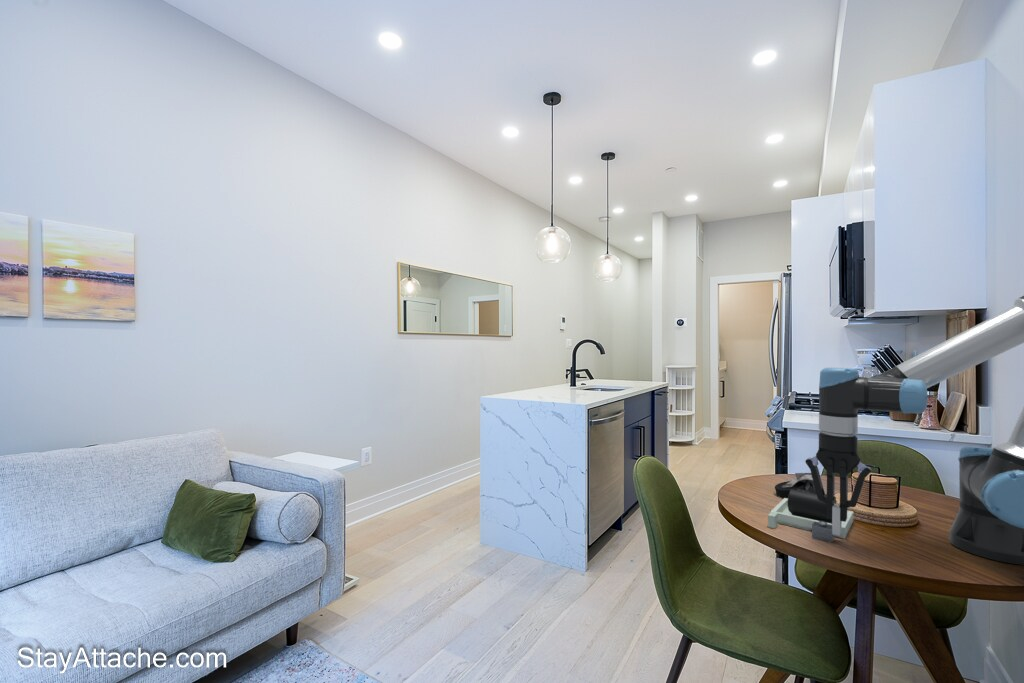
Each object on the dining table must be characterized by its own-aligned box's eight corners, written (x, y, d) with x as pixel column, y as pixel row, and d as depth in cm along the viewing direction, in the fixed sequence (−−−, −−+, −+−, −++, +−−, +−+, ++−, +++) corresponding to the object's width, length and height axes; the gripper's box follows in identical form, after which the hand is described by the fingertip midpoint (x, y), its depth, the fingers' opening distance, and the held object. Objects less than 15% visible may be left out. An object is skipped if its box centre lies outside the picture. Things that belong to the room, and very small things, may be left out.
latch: (834, 538, 113) (834, 522, 113) (832, 542, 110) (832, 526, 110) (814, 533, 115) (814, 518, 115) (812, 537, 113) (812, 521, 113)
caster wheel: (774, 504, 144) (786, 493, 151) (815, 506, 136) (825, 494, 142) (768, 483, 144) (780, 472, 151) (808, 483, 136) (819, 472, 143)
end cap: (787, 517, 124) (787, 491, 124) (794, 510, 129) (794, 485, 129) (832, 527, 117) (832, 500, 117) (838, 520, 122) (838, 494, 122)
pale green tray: (853, 521, 123) (853, 510, 123) (841, 544, 109) (841, 531, 109) (784, 507, 134) (784, 496, 134) (765, 526, 120) (765, 514, 120)
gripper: (874, 435, 109) (873, 536, 109) (808, 427, 118) (807, 521, 118) (870, 439, 104) (869, 546, 104) (802, 431, 113) (801, 530, 112)
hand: (836, 533), depth 111 cm, fingers closed
